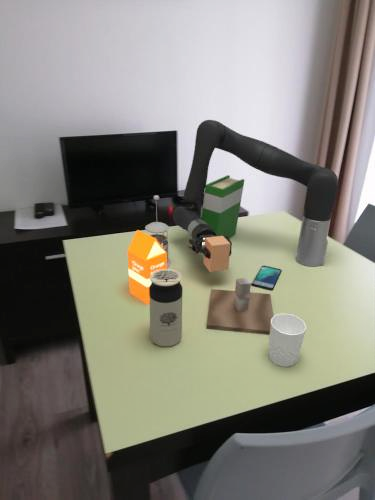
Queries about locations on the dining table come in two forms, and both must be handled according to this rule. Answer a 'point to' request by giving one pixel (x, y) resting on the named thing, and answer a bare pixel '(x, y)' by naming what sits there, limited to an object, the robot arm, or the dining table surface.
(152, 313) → the travel mug
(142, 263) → the orange juice
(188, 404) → the dining table surface
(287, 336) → the white cup
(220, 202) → the hardback book
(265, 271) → the smartphone
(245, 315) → the post base
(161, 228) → the french press
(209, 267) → the tall peach pillar
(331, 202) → the robot arm
